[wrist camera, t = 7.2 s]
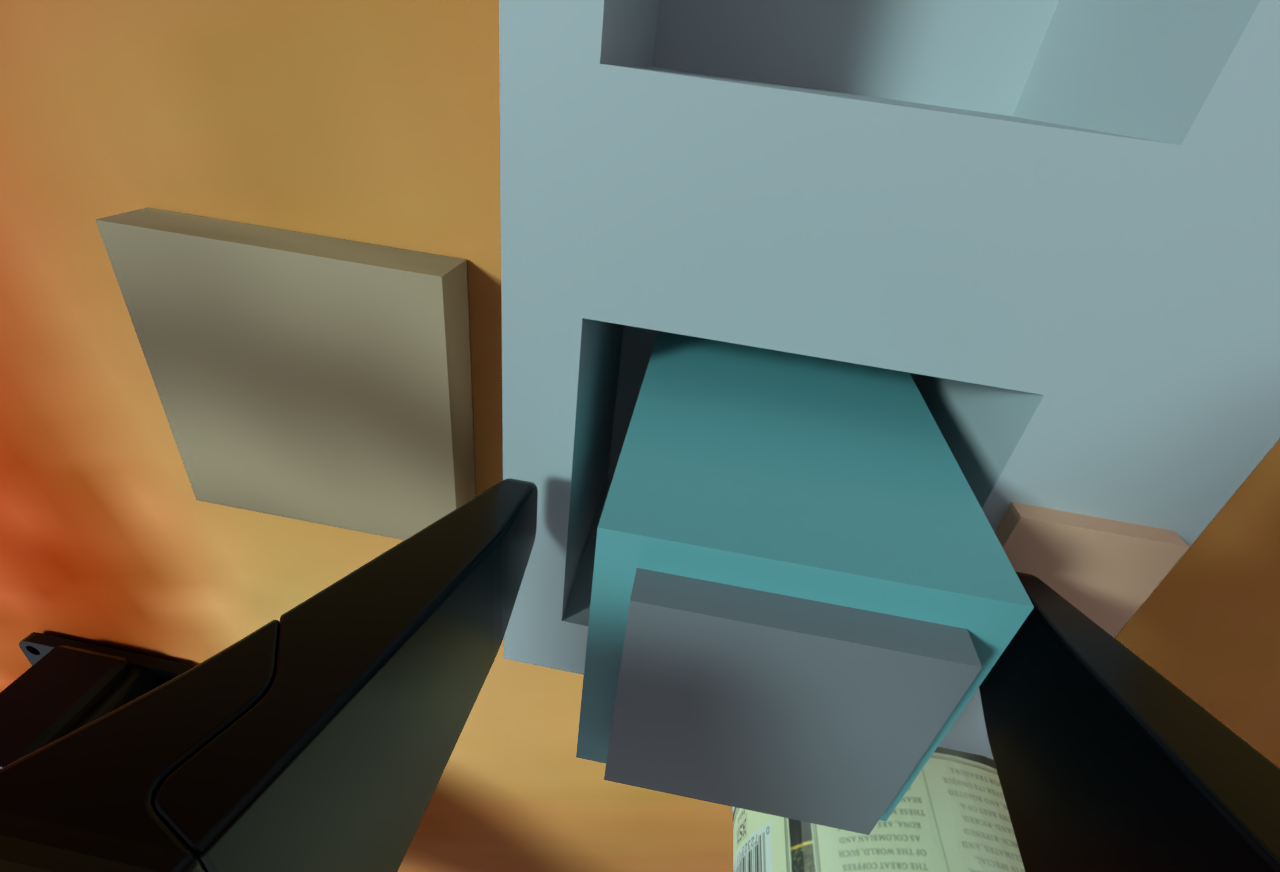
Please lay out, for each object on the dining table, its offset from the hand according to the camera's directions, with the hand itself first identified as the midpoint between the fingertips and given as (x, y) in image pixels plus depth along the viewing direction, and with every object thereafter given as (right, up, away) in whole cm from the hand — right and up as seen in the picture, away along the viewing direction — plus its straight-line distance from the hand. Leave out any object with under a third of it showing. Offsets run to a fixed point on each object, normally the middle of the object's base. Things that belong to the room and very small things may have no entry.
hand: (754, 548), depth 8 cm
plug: (+1, +2, +4) cm, 4 cm away
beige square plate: (-9, +3, +6) cm, 11 cm away
